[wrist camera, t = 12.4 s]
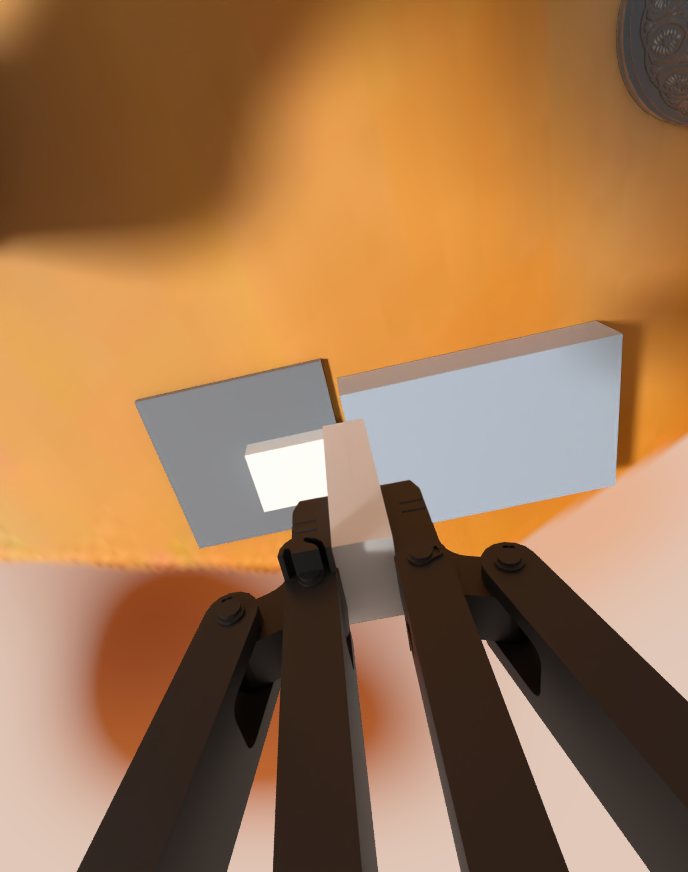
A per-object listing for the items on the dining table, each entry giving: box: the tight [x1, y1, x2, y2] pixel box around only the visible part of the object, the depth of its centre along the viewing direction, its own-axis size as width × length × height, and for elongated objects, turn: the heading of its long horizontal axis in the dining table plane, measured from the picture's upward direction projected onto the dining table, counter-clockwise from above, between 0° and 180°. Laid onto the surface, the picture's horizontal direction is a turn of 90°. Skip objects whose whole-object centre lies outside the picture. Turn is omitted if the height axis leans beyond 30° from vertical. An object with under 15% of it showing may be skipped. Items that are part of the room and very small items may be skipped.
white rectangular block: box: [245, 429, 328, 512], centre depth 44 cm, size 9×6×2 cm, turn 102°
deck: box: [337, 321, 623, 523], centre depth 43 cm, size 22×14×4 cm, turn 102°
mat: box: [135, 359, 336, 548], centre depth 45 cm, size 16×16×1 cm
